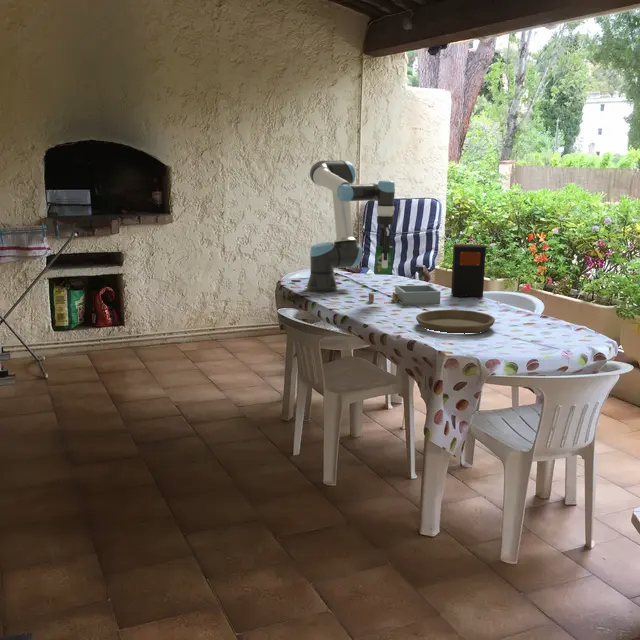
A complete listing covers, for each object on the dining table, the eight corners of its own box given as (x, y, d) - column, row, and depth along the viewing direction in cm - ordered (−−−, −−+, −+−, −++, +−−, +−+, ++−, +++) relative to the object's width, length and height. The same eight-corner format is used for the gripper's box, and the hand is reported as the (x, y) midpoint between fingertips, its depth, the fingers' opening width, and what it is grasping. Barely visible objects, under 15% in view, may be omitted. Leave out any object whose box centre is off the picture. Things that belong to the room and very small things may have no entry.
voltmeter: (482, 294, 359) (485, 243, 354) (484, 298, 351) (487, 246, 345) (450, 293, 361) (452, 243, 355) (451, 297, 353) (454, 245, 347)
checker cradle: (368, 301, 342) (368, 292, 341) (395, 300, 344) (395, 292, 343) (370, 302, 338) (370, 294, 337) (397, 302, 340) (397, 293, 339)
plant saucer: (399, 325, 296) (399, 314, 295) (453, 316, 314) (454, 305, 313) (455, 341, 271) (456, 329, 270) (510, 330, 289) (511, 319, 288)
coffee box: (391, 273, 340) (392, 245, 337) (392, 274, 338) (393, 246, 334) (374, 273, 340) (375, 245, 336) (375, 275, 337) (376, 246, 334)
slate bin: (394, 298, 349) (395, 285, 348) (429, 297, 352) (429, 285, 350) (403, 305, 333) (404, 292, 332) (439, 304, 335) (440, 291, 334)
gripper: (397, 217, 325) (395, 269, 331) (389, 213, 340) (387, 263, 346) (381, 217, 324) (379, 269, 329) (373, 213, 339) (372, 263, 345)
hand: (383, 266), depth 338 cm, fingers closed on coffee box, 3 cm apart
